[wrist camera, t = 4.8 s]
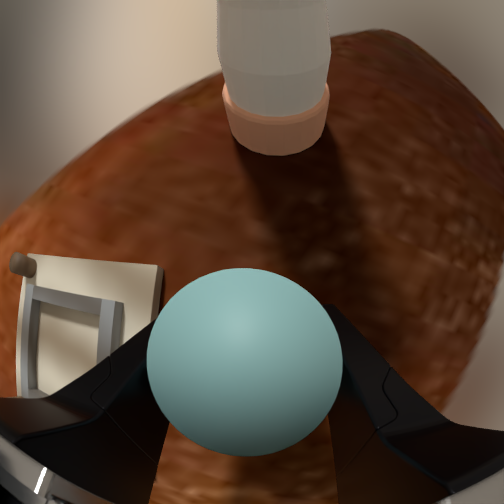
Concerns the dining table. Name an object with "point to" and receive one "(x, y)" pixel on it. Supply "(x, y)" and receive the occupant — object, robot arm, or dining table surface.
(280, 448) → the pin
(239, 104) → the salt shaker
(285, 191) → the dining table surface
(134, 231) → the dining table surface
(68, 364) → the board
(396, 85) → the dining table surface
